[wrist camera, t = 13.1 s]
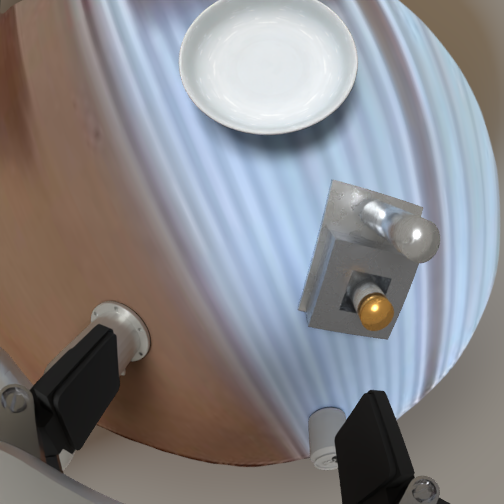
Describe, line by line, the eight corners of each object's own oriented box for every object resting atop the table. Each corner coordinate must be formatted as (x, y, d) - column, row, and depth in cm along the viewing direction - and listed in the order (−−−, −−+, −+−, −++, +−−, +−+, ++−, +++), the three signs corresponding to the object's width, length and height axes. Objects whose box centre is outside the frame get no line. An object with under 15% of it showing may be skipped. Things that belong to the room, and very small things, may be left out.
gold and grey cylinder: (373, 269, 37) (398, 300, 28) (367, 294, 38) (388, 331, 29) (346, 266, 38) (365, 298, 28) (341, 293, 39) (357, 330, 29)
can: (348, 420, 48) (356, 465, 36) (314, 430, 49) (316, 475, 38) (340, 400, 46) (348, 448, 35) (303, 411, 48) (304, 459, 36)
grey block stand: (380, 322, 41) (412, 383, 26) (297, 307, 41) (302, 373, 27) (420, 206, 35) (481, 229, 21) (331, 179, 35) (362, 187, 21)
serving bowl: (366, 46, 29) (380, 27, 22) (307, 167, 35) (313, 166, 29) (234, -4, 28) (226, -28, 22) (170, 108, 35) (149, 98, 28)
